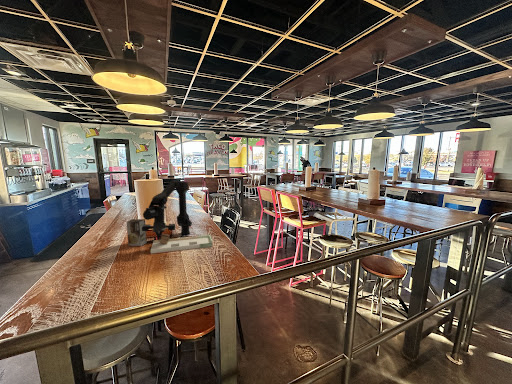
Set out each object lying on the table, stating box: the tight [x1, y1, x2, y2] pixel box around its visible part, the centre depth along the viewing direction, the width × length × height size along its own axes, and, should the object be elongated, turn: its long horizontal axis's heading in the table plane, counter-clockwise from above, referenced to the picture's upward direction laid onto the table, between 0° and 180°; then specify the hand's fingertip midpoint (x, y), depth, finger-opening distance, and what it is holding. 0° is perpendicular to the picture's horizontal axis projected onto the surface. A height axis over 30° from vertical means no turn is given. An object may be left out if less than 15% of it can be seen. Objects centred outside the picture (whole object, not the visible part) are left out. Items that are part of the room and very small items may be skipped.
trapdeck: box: [150, 234, 213, 255], centre depth 135 cm, size 12×36×4 cm, turn 109°
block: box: [160, 233, 170, 244], centre depth 133 cm, size 4×4×4 cm
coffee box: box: [126, 218, 148, 247], centre depth 137 cm, size 9×6×16 cm
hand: (159, 240), depth 132 cm, fingers closed
